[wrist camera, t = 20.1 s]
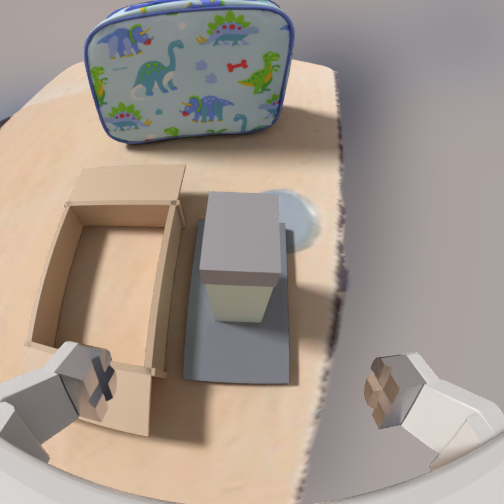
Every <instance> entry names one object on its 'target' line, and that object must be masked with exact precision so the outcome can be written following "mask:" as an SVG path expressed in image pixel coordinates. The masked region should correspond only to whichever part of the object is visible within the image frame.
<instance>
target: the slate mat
mask: <svg viewBox="0 0 504 504" xmlns="http://www.w3.org/2000/svg"><path fill="white" fill-rule="evenodd" d="M204 226H205V219H199V222H198V229H197V236H196V244H195V251H194V259H193V267H192V275H191V284H190V293H189V303H188V313H187V323H186V335H185V347H184V361H183V377H182V379H185V380H196V381H209V382H225V383H252V384H285V383H289V318H288V282H287V255H286V233H285V223H279V227H280V255H281V274H280V277H279V280H278V283H277V285H276V287H273V290H272V293H271V296H270V298H269V301H268V304H267V307H266V310H265V312H264V315H263V318H262V321H261V323H255V322H228V321H215V318H214V315H213V311H212V307H211V303H210V300H209V296H208V292H207V288H206V284H203V281H202V277H201V274H200V270H199V269H200V259H201V251H202V242H203V234H204Z"/></svg>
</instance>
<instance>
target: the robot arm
mask: <svg viewBox="0 0 504 504" xmlns="http://www.w3.org/2000/svg"><path fill="white" fill-rule="evenodd" d="M111 361H112V358H111V355H110V352H109V351H108V350H107V349H103V348H99V347H94V346H90V345H85V344H79V343H76V342H72V341H66V342H64V343H63V345H62V346H61V347H60V348H59V349H58V350H57V352H56V353H55V354H54V355H53V356H52V358H51V359H50V360H49V361H48V362H47V364H46V365H45V366H44V367H43V368H42V369H41V368H37V369H35V370H32V371H30V372H27V373H25V374H22V375H20V376H18V377H15V378H13V379H10V380H8V381H5V382H3V383H0V504H183V503H176V502H170V501H164V500H159V499H154V498H149V497H144V496H140V495H136V494H132V493H128V492H124V491H120V490H117V489H113V488H110V487H107V486H104V485H101V484H98V483H95V482H92V481H89V480H86V479H84V478H81V477H78V476H76V475H73V474H71V473H68V472H66V471H64V470H61V469H59V468H57V467H55V466H52V465H50V464H48V461H49V459H50V458H49V455H48V454H47V452H46V451H45V450H44V449H43V447H42V446H41V444H42V443H44V442H45V441H47V440H48V439H50V438H51V437H52V436H54V435H55V434H57V433H58V432H60V431H61V430H62V429H64V428H65V427H67V426H68V425H69V424H71V423H72V422H74V421H75V420H76V419H78V418H79V417H83V418H87V419H90V420H94V421H98V422H102V421H103V419H104V416H105V414H106V412H107V410H108V408H109V407H108V404H107V401H109V400H111V399H112V398H113V397H114V395H115V393H116V389H117V376H116V372H115V370H114V369H113V368H112V367H111V366H110V365H109V364H110V362H111ZM371 369H372V371H373V373H372V374H371V375H370V376H369V377H368V378H367V379H366V382H365V386H364V396H365V400H366V402H367V405H368V406H370V407H372V408H373V409H374V411H373V413H372V416H373V418H374V420H375V422H376V424H377V426H378V429H383V428H388V427H393V426H397V425H401V426H402V427H403V428H405V429H406V430H407V431H409V432H410V433H411V434H413V435H414V436H415V437H416V438H418V439H419V440H421V441H422V442H423V443H424V444H426V445H427V446H428V447H430V448H431V449H433V450H434V451H435V452H437V453H438V454H439V455H438V456H437V457H436V458H435V459H434V460H433V461H432V463H431V464H430V466H429V467H430V469H431V472H429V473H426V474H424V475H421V476H419V477H416V478H413V479H411V480H408V481H405V482H402V483H399V484H396V485H393V486H390V487H387V488H384V489H380V490H377V491H373V492H369V493H365V494H361V495H357V496H352V497H348V498H343V499H338V500H332V501H327V502H321V503H313V504H504V414H503V413H502V411H501V410H500V409H499V408H498V406H497V405H496V404H495V403H493V402H491V401H489V400H487V399H484V398H482V397H480V396H478V395H476V394H473V393H471V392H469V391H467V390H465V389H463V388H460V387H458V386H456V385H454V384H452V383H449V382H447V381H445V380H439V378H438V377H437V376H436V375H435V373H434V372H433V371H432V370H431V368H430V367H429V366H428V365H427V363H426V362H425V361H424V360H423V359H422V357H421V356H420V355H419V354H418V353H416V352H411V353H405V354H402V355H394V356H387V357H378V358H376V359H375V360H374V361H373V363H372V366H371Z"/></svg>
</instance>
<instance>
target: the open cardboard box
mask: <svg viewBox="0 0 504 504" xmlns="http://www.w3.org/2000/svg"><path fill="white" fill-rule="evenodd" d="M185 169H186V165H137V166H117V167H102V168H89V169H83V170H82V172H81V174H80V176H79V178H78V181H77V183H76V185H75V187H74V189H73V191H72V193H71V196H70V198H69V200H68V202H66V203H65V205H64V207H65V210H64V212H63V214H62V217H61V219H60V222H59V225H58V227H57V230H56V233H55V235H54V238H53V241H52V244H51V247H50V250H49V253H48V256H47V259H46V262H45V265H44V269H43V272H42V276H41V279H40V283H39V286H38V290H37V294H36V298H35V303H34V307H33V312H32V316H31V322H30V327H29V332H28V338H27V340H25V344H24V346H26V352H25V360H24V369H23V374H25V373H27V372H30V371H32V370H35V369H37V368H41V369H42V368H43V367H44V366H45V365H46V364H47V362H48V361H49V360H50V359H51V358H52V356H53V355H54V354H55V353H56V352H57V350H58V349H56V348H54V343H55V337H56V331H57V325H58V320H59V315H60V310H61V305H62V300H63V296H64V292H65V288H66V283H67V280H68V276H69V272H70V268H71V265H72V261H73V258H74V255H75V251H76V248H77V245H78V242H79V239H80V236H81V233H82V230H83V227H84V226H135V227H165V230H164V235H163V240H162V245H161V250H160V255H159V261H158V266H157V272H156V278H155V284H154V290H153V297H152V304H151V311H150V318H149V326H148V334H147V343H146V353H145V364H144V367H143V366H136V365H130V364H124V363H119V362H113V361H111V362H110V364H109V365H110V366H111V367H112V368H113V369H114V370H115V372H116V376H117V389H116V393H115V395H114V397H113V398H112V399H111V400H109V401H107V404H108V407H109V408H108V410H107V412H106V414H105V416H104V419H103V421H102V422H98V421H94V420H90V419H87V418H83V417H79V418H78V419H80V420H84V421H87V422H90V423H93V424H97V425H100V426H104V427H108V428H112V429H116V430H120V431H124V432H128V433H133V434H137V435H142V436H150V408H151V389H152V377H159V378H167V372H165V371H164V366H165V354H166V343H167V332H168V323H169V314H170V305H171V297H172V290H173V282H174V275H175V268H176V262H177V255H178V249H179V243H180V237H181V231H182V228H185V219H184V215H183V211H182V207H181V202H180V200H178V199H179V194H180V190H181V185H182V181H183V177H184V173H185Z"/></svg>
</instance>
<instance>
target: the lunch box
mask: <svg viewBox="0 0 504 504" xmlns="http://www.w3.org/2000/svg"><path fill="white" fill-rule="evenodd" d="M294 42H295V28H294V24H293V21H292V19H291V18H290V16H289V15H288V14H287V13H286V12H285V11H283V10H282V9H281V8H280V7H279V6H278V5H277V4H276V3H274V2H272V1H270V0H156V1H150V2H144V3H139V4H135V5H131V6H127V7H124V8H121V9H118V10H116V11H114V12H112V13H111V14H110V15H109V16H108V17H107V18H106V20H105V21H103V22H101V23H100V24H98V25H97V26H96V27H95V28H94V29H93V30H92V31H91V32H90V33H89V34H88V36H87V38H86V40H85V42H84V47H83V58H84V64H85V68H86V72H87V76H88V80H89V84H90V88H91V92H92V95H93V99H94V102H95V106H96V109H97V112H98V115H99V118H100V121H101V123H102V126H103V128H104V130H105V132H106V133H107V135H108V136H109V137H111V138H112V139H114V140H116V141H118V142H122V143H127V144H139V143H146V142H152V141H158V140H164V139H172V138H180V137H189V136H195V137H197V136H204V135H213V134H242V133H251V132H256V131H261V130H264V129H266V128H268V127H270V126H272V125H273V124H274V123H275V122H276V121H277V119H278V117H279V115H280V112H281V109H282V105H283V101H284V96H285V91H286V87H287V82H288V77H289V72H290V66H291V60H292V54H293V48H294Z"/></svg>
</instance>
